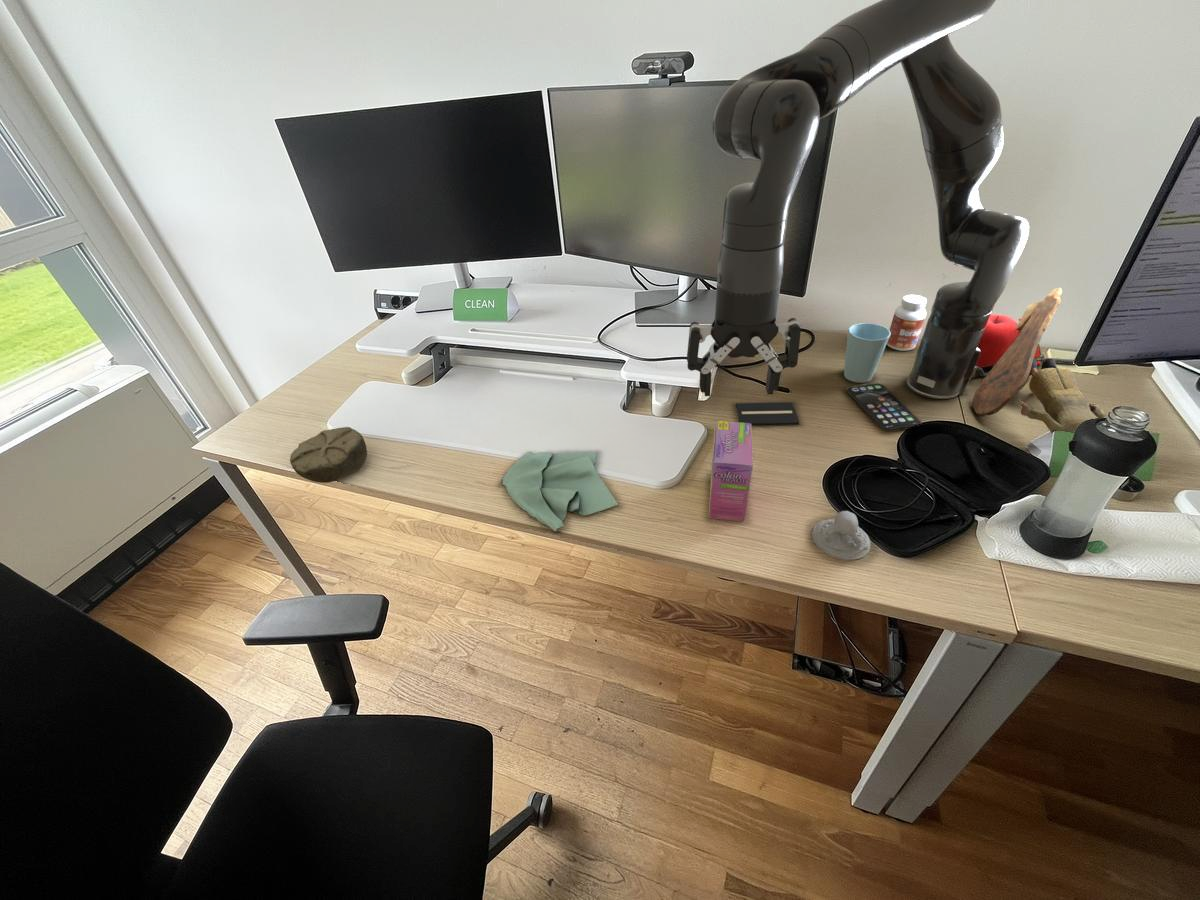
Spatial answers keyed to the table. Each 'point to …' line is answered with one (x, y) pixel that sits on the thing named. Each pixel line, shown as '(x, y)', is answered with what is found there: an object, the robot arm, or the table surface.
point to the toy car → (1037, 353)
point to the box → (731, 470)
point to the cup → (864, 350)
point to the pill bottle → (907, 323)
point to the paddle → (1016, 358)
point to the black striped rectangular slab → (767, 413)
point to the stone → (329, 455)
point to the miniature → (842, 537)
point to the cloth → (557, 486)
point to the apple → (996, 339)
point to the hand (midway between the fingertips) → (737, 392)
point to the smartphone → (883, 407)
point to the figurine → (1059, 399)
